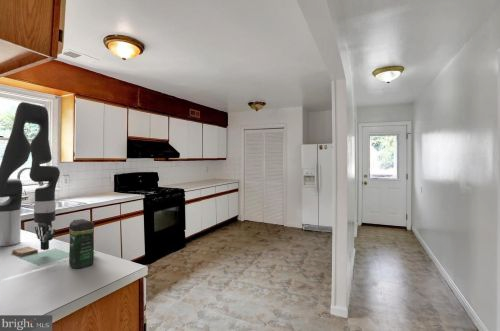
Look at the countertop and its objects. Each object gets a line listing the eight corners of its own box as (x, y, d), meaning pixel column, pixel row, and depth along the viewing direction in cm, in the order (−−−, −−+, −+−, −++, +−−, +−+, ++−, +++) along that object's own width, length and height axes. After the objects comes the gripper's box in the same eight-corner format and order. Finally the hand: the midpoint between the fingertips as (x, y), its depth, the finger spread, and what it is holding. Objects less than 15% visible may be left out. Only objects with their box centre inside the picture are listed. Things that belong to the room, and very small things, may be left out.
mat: (18, 259, 114) (18, 257, 114) (55, 249, 126) (55, 248, 126) (38, 267, 106) (38, 265, 106) (75, 256, 118) (75, 254, 118)
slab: (21, 259, 115) (12, 255, 119) (37, 255, 120) (28, 251, 124) (21, 253, 115) (12, 250, 119) (37, 249, 120) (28, 246, 124)
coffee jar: (96, 264, 109) (97, 220, 109) (74, 270, 103) (75, 223, 103) (87, 259, 115) (87, 216, 115) (66, 264, 109) (66, 219, 109)
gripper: (27, 210, 117) (27, 249, 117) (42, 213, 110) (42, 254, 111) (46, 207, 123) (46, 244, 124) (62, 210, 117) (62, 249, 117)
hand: (44, 249), depth 117 cm, fingers closed
